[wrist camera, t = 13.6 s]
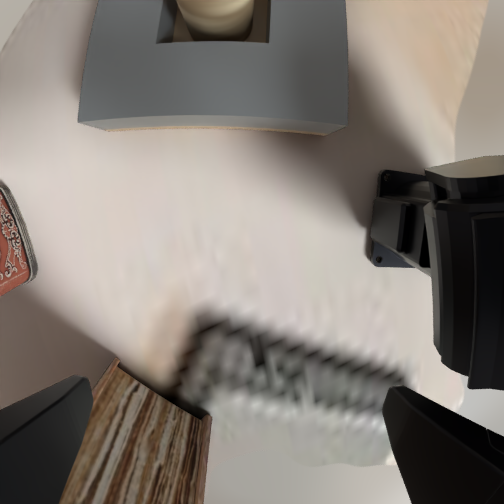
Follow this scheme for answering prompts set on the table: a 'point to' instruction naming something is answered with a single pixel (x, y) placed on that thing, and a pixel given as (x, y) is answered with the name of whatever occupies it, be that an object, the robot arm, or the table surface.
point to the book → (138, 448)
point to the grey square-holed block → (217, 70)
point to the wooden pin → (218, 19)
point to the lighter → (14, 245)
